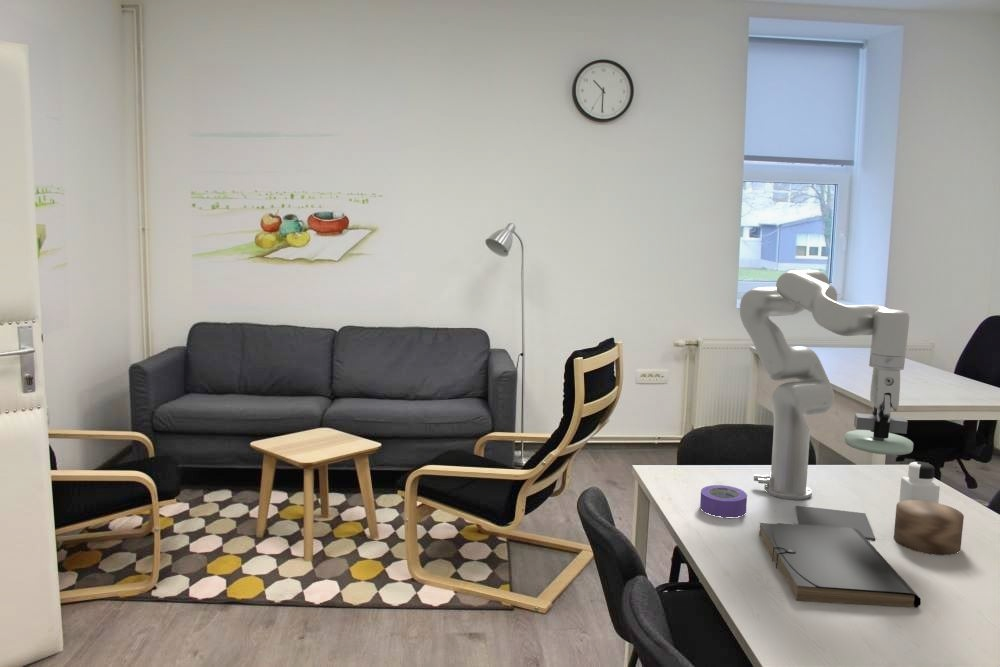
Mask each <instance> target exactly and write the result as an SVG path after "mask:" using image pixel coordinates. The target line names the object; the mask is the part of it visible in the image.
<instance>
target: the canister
mask: <svg viewBox="0 0 1000 667" xmlns="http://www.w3.org/2000/svg"><path fill="white" fill-rule="evenodd" d="M964 519H965V516H964V514H963V513H962V512H961V511H960V510H958V509H956V508H954V507H952V506H949V505H945V504H943V503H939V502H938V503H935V502H929V501H921V500H906V501H901V502H900V501H899V502H897V503H896V507H895V519H894V528H893V530H894V531H893V539H894V540H895V542H896V543H897V544H899V545H901V546H902V547H903V548H906V549H908V550H910V551H915V552H917V553H921V552H922V553H921V554H926V553H927V555H932V554H934V555H933V556H935V555H936V556H951V554H953V555H956V554H958V553H960V552H961V550H960V549H961V547H962V539H963V529H964ZM959 551H960V552H959ZM957 552H958V553H957ZM955 553H956V554H955Z"/></svg>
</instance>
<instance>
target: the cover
mask: <svg viewBox="0 0 1000 667" xmlns="http://www.w3.org/2000/svg"><path fill="white" fill-rule="evenodd" d="M853 419H854V420H853V421H854V422H853V426H854V428H855V430H849V431H847V432H846V433H845V434H844V439H843V440H844V443H845V444H846V445H847V446H849V447H851V448H854V449H856V450H860V451H863V452H865V453H866V452H867V453H870V454H876V455H884V456H886V455H887V456H902V455H903V456H904V455H909V454H912V452H913V449H914V442H913V441H912V440H911V439H909V438H908V437H905V436H904V435H905V434H906V435H907V433H908V432H907V431H908V425H909V424H908V423H909V421H908V420H907V419H906V418H905V417H904V416H893V415H890V427H889V436H888V438H876V437H874V436H873V434H874V432H871V431H874V425H875V421H877V415H872V413H859V412H858V413H857V412H856V413H855V412H854V418H853ZM899 434H903V435H899Z"/></svg>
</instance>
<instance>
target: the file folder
mask: <svg viewBox="0 0 1000 667" xmlns="http://www.w3.org/2000/svg"><path fill="white" fill-rule="evenodd" d="M758 535H759V537H760V538H761V539H762V542H763V544H764V545H765V547H766V549H767V551H768V553H769V555H770V556H771V557H772V560H771V562H772V563H773V562H774V560H775V562H776V564H775V565H776V566H775V569H778V568H779V570H780V572H781V573H782V574H783V576H784V577H785V579H786V580H787V581H788V583H789V585H790V587H791V590H792V592H793V596H795V600H796V601H801V602H802V601H803V602H813V603H814V602H815V603H829V604H843V605H844V604H846V605H874V606H886V607H888V606H889V607H905V608H914V607H915V608H919V607H920V606H921V603H922V601H921V600H922V599H921V598H920V596H919V595H918V594H917V592H915V591H914V590H913V589H912V587H911V586H909V584H908V583H907V581H905V580H904V579H903V577H902V576H901V575H900V574H899V573H898V572H897V571H896V570H895V569H894V567H892V565H891V564H890V563H889V562H888V561H887V560H886V559H885V558H884V557H883V555H881V553H880V552H879V551H878V550H877V549H876V548H875V547H874V545H873V544H872V543H871V542H870V540H868V539H866V538H865V537H864V536H863V534H862V533H861V532H860V531H859V530H857V529H854V528H846V527H831V526H815V525H800V524H798V523H782V522H781V523H780V522H777V523H771V522H759V534H758Z"/></svg>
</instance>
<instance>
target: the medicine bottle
mask: <svg viewBox="0 0 1000 667" xmlns="http://www.w3.org/2000/svg"><path fill="white" fill-rule="evenodd" d="M935 470H936V468H935V466H934V465H932V464H930V463H929V462H924V461H913V462H910V463H909V464H908V471H907V472H908V473H907V476H901V479H900V490H899V502H901V501H906V500H921V501H929V502H935V503H939V502H940V501H939V500H940V499H939V498H940V490H941V486H940V485H938V483H936V482H934V480H935Z"/></svg>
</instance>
